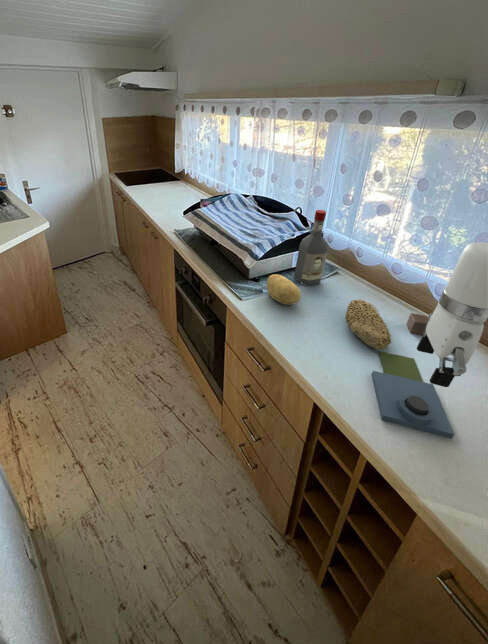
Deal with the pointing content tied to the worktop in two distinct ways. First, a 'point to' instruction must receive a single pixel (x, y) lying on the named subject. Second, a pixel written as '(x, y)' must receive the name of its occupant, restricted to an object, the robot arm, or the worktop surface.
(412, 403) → the button
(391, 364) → the pad
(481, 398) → the worktop surface
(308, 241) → the liquor
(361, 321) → the sponge
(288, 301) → the potato
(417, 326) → the block
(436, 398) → the box
